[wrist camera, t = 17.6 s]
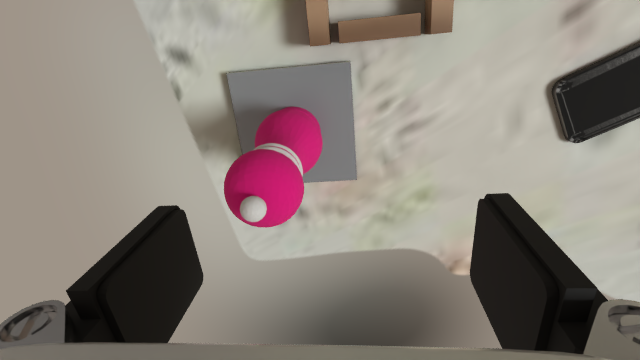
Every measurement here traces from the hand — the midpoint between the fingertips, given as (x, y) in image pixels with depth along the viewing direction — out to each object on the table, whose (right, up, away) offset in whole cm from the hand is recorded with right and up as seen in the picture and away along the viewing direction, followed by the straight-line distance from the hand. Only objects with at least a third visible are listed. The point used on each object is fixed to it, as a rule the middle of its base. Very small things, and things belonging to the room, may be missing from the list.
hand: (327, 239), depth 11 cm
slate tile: (-3, +8, +30) cm, 31 cm away
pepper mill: (-3, +8, +29) cm, 31 cm away
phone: (+33, +12, +26) cm, 44 cm away
